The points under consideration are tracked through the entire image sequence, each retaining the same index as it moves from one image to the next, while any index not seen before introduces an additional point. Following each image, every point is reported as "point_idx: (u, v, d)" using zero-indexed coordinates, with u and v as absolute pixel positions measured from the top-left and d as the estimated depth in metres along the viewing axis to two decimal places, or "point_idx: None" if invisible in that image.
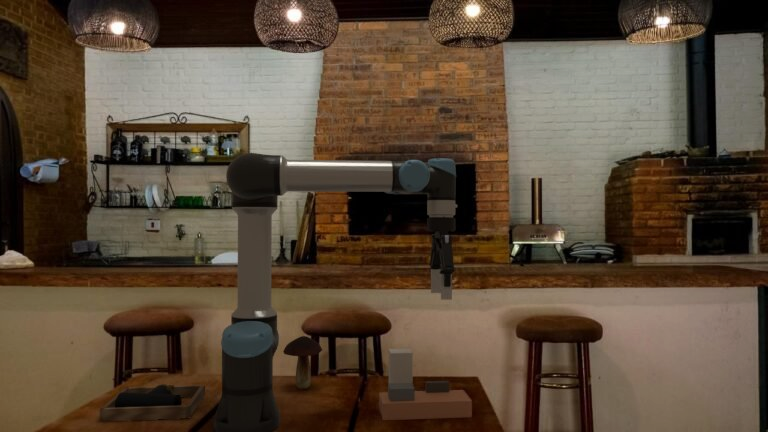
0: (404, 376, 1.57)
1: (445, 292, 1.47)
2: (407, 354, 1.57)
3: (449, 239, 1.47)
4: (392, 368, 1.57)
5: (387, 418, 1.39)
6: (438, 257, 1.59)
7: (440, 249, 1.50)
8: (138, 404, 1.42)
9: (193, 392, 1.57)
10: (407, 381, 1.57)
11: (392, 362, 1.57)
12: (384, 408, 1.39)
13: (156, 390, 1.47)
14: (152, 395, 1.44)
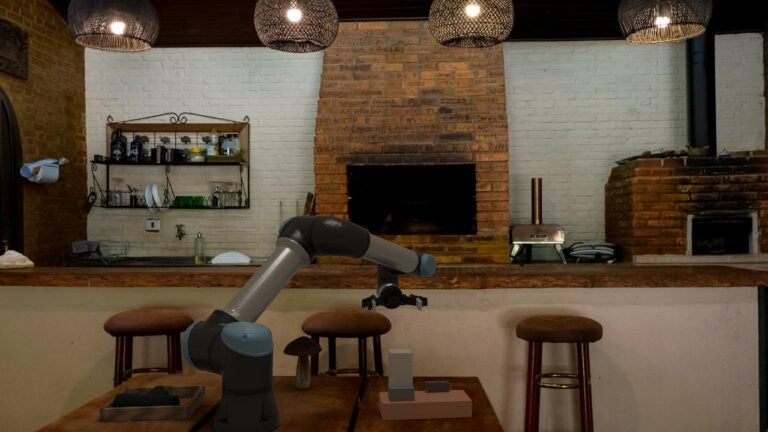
0: (404, 376, 1.57)
1: None
2: (407, 354, 1.57)
3: None
4: (392, 368, 1.57)
5: (387, 418, 1.39)
6: (379, 302, 1.78)
7: None
8: (136, 405, 1.42)
9: (193, 392, 1.57)
10: (407, 381, 1.57)
11: (392, 362, 1.57)
12: (384, 408, 1.39)
13: (154, 391, 1.47)
14: (150, 396, 1.43)
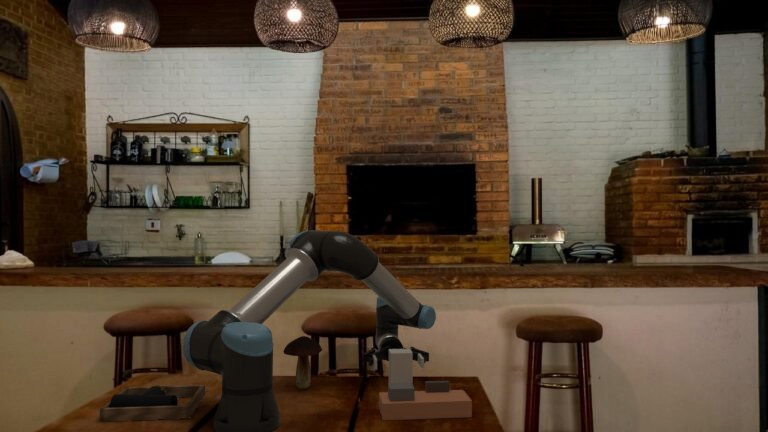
0: (404, 376, 1.57)
1: None
2: (407, 354, 1.57)
3: None
4: (392, 368, 1.57)
5: (387, 418, 1.39)
6: (380, 357, 1.75)
7: None
8: (134, 406, 1.41)
9: (193, 392, 1.57)
10: (407, 381, 1.57)
11: (392, 362, 1.57)
12: (384, 408, 1.39)
13: (151, 391, 1.46)
14: (148, 396, 1.43)
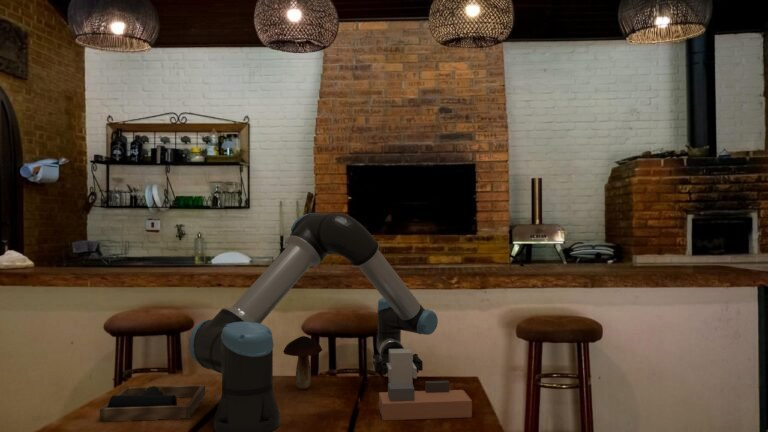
0: (404, 376, 1.57)
1: None
2: (407, 354, 1.57)
3: None
4: (392, 368, 1.57)
5: (387, 418, 1.39)
6: None
7: None
8: (133, 406, 1.40)
9: (193, 392, 1.57)
10: (407, 381, 1.57)
11: (392, 362, 1.57)
12: (384, 408, 1.39)
13: (149, 392, 1.46)
14: (147, 397, 1.42)
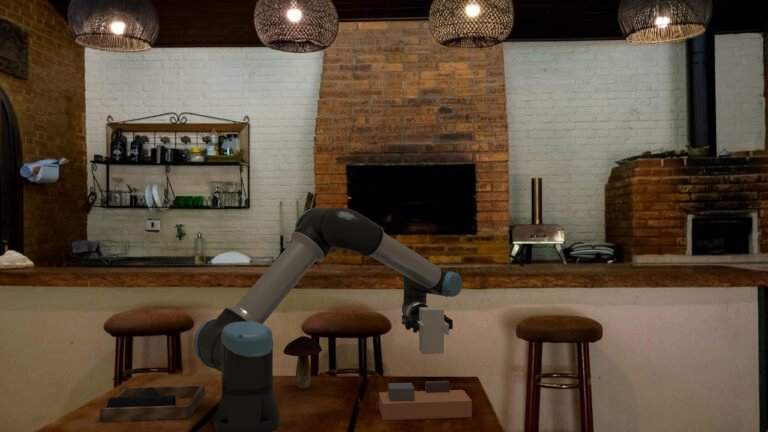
0: (435, 333, 1.58)
1: None
2: (439, 311, 1.58)
3: None
4: (424, 325, 1.58)
5: (387, 418, 1.39)
6: None
7: None
8: None
9: (193, 392, 1.57)
10: (438, 338, 1.58)
11: (424, 319, 1.58)
12: (384, 408, 1.39)
13: (147, 393, 1.45)
14: (147, 397, 1.42)
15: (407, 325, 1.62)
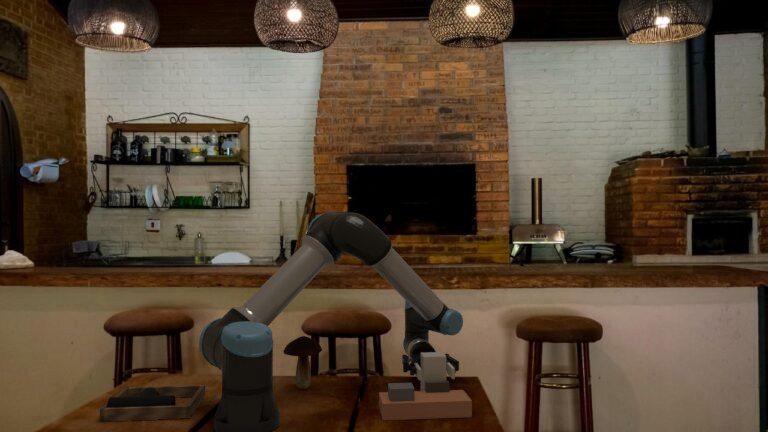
0: None
1: None
2: (441, 358, 1.52)
3: None
4: (425, 372, 1.51)
5: (387, 418, 1.39)
6: (418, 364, 1.60)
7: None
8: None
9: (193, 392, 1.57)
10: None
11: (425, 366, 1.51)
12: (384, 408, 1.39)
13: (147, 393, 1.45)
14: (146, 397, 1.42)
15: (404, 367, 1.56)
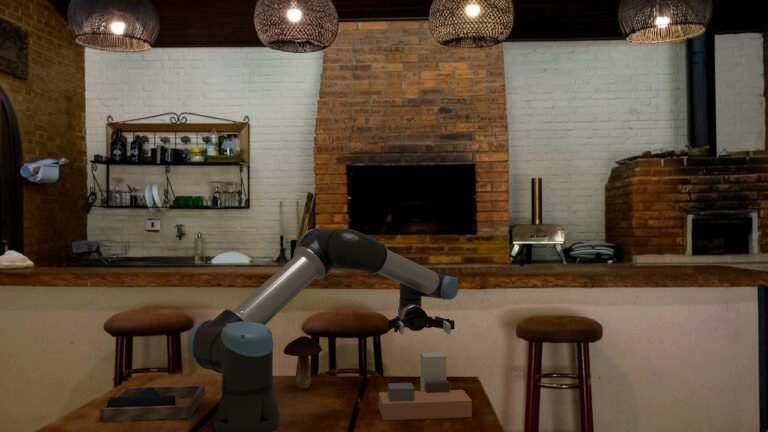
0: None
1: None
2: (441, 358, 1.52)
3: None
4: (425, 372, 1.51)
5: (387, 418, 1.39)
6: (405, 324, 1.75)
7: None
8: None
9: (193, 392, 1.57)
10: None
11: (425, 366, 1.51)
12: (384, 408, 1.39)
13: (147, 393, 1.45)
14: (146, 397, 1.42)
15: (388, 325, 1.72)
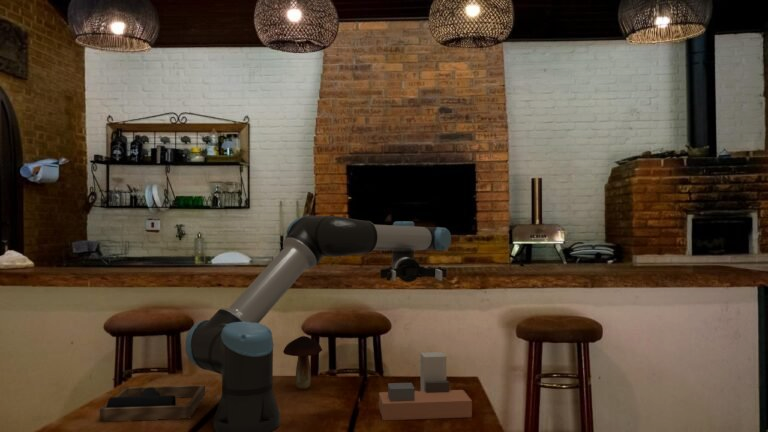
0: None
1: None
2: (441, 358, 1.52)
3: None
4: (425, 372, 1.51)
5: (387, 418, 1.39)
6: (397, 273, 1.76)
7: None
8: None
9: (193, 392, 1.57)
10: None
11: (425, 366, 1.51)
12: (384, 408, 1.39)
13: (147, 393, 1.45)
14: (147, 397, 1.42)
15: (381, 273, 1.73)
